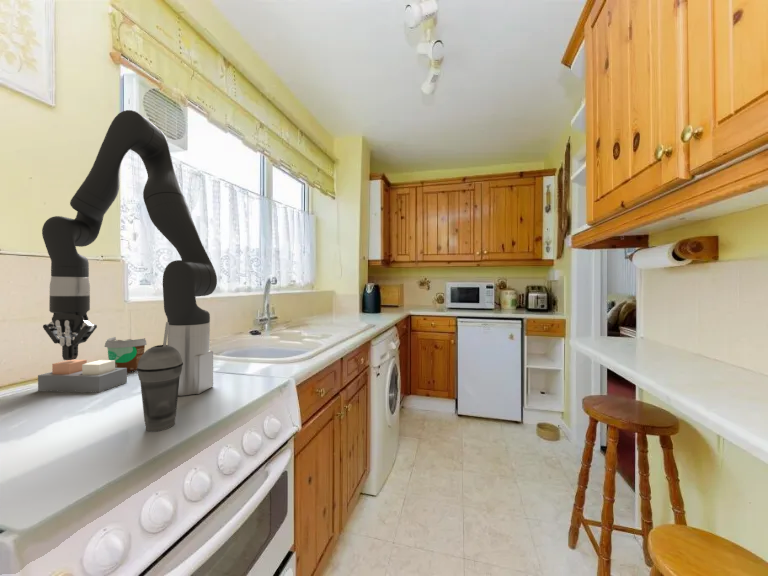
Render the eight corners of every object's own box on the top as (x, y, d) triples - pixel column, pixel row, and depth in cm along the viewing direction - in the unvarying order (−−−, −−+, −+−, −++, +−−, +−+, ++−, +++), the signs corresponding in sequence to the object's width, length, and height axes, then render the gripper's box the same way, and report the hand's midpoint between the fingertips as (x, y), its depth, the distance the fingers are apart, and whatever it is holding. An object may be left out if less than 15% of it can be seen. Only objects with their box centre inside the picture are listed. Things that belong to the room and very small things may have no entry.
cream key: (115, 373, 84) (115, 360, 84) (99, 378, 79) (99, 364, 79) (99, 372, 84) (99, 360, 84) (82, 377, 80) (82, 364, 80)
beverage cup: (153, 418, 63) (153, 320, 63) (190, 417, 64) (191, 320, 63) (126, 435, 56) (126, 324, 56) (169, 434, 56) (169, 324, 56)
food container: (93, 372, 95) (93, 340, 94) (113, 367, 101) (114, 336, 101) (127, 375, 92) (127, 341, 92) (146, 369, 99) (146, 338, 98)
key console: (126, 382, 86) (126, 368, 86) (99, 392, 78) (99, 376, 78) (71, 381, 86) (71, 366, 86) (38, 391, 78) (38, 375, 78)
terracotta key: (86, 372, 84) (86, 359, 84) (69, 377, 80) (69, 364, 80) (70, 372, 84) (70, 359, 84) (52, 377, 80) (52, 363, 80)
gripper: (107, 294, 85) (107, 356, 86) (61, 293, 86) (61, 355, 86) (79, 295, 78) (79, 363, 78) (29, 294, 78) (29, 362, 79)
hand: (70, 359), depth 82 cm, fingers closed
